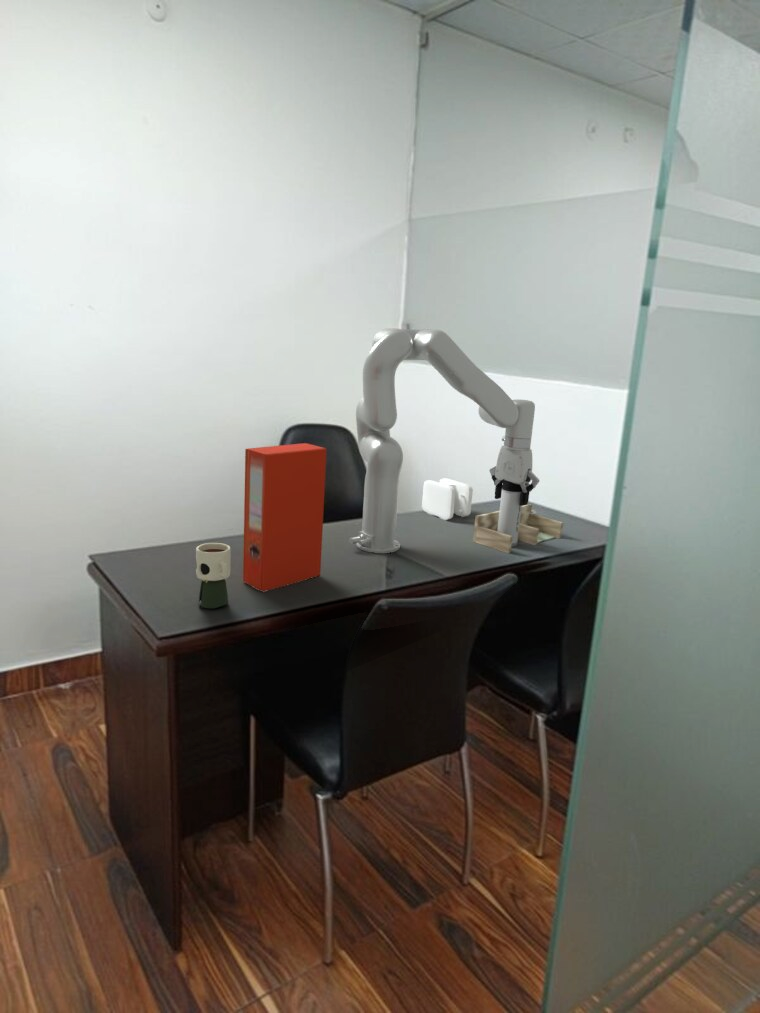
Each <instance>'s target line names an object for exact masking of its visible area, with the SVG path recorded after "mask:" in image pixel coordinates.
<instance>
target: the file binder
mask: <svg viewBox="0 0 760 1013" xmlns="http://www.w3.org/2000/svg"><path fill="white" fill-rule="evenodd" d="M244 452H245V453H244V454H245V455H244V459H245V461H244V462H245V463H244V503H243V504H244V507H243V508H244V509H243V511H244V513H243V556H242V557H243V558H242V559H243V563H242V564H243V566H242V567H243V568H242V571H243V572H242V582H243V581H244V582H246V583H248V584H250V585H251V586H254V587H255V588H257V589H259V590H262V591H265V590H270V589H273V588H277V587H280V588H282V587H281V586H284V585H287V584H291V583H294V584H296V583H295V582H298V581H301V580H305V579H308V578H311V577H315V576H318V575H320V576H321V572H322V571H321V567H322V551H323V550H322V546H323V527H324V509H325V508H324V506H325V490H326V489H325V487H326V468H327V467H326V466H327V448H326V447H322V446H318V445H315V444H310V443H307V442H304V443H294V444H293V443H292V444H283V445H282V444H281V445H280V444H279V445H270V446H261V447H251V448H245V451H244ZM305 581H306V580H305ZM244 582H243V583H244ZM298 583H299V582H298ZM291 585H292V584H291ZM251 586H250V587H251ZM287 586H288V585H287ZM284 587H285V586H284ZM255 588H254V589H255ZM257 589H256V590H257ZM277 589H278V588H277ZM259 590H258V591H259ZM273 590H274V589H273ZM270 591H271V590H270Z"/></svg>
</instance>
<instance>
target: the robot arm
mask: <svg viewBox="0 0 760 1013" xmlns="http://www.w3.org/2000/svg"><path fill="white" fill-rule="evenodd" d="M371 344H372V348H371V349H370V350H369V352H368V354H367V356H366V358H365V360H364V363H363V367H362V395H363V396H362V397H361V398H360V399H359V400H358V402H357V405H356V408H355V409H356V410H355V423H356V431H357V432H356V434H357V435H356V436H357V442H358V443H357V444H358V450H359V454H360V455H361V457H362V459H363V460H364V461H365V462H366V463H367V466H366V467H367V468H366V473H365V477H364V486H363V505H362V506H363V507H362V523H361V524H362V525H361V530H360V531H358V535H357V536H353V537H349V538H348V543H349V545H355V546H356V548H357V549H359V550H361V551H364V552H368V553H372V552H374V553H375V554H391V553H395V552H397V551H398V550H400V547H401V543H400V542H399V541H398V540H396V530H397V529H396V528H397V517H398V504H399V503H398V501H399V500H398V498H399V485H400V478H401V472H402V467H403V463H404V462H403V461H404V454H403V450H402V449H403V448H402V447H401V445H400V444H399V442H398V441H397V440H396V439H395V438H393V437H391V433H390V432H391V429H392V428H393V427H394V426H395V424H396V423H397V419H398V418H397V417H398V412H397V411H398V410H397V402H396V401H397V400H396V388H395V387H396V386H395V384H396V383H395V381H396V372H397V370H398V367H399V365H400V364H401V363H402V362H403V361H426V362H428V363H429V364H430V365H431V366H432V367H433V368H434V369H435V370H436V371H437V372H438V373H439V375H441V376H442V378H443V379H444V380H445V381H446V382H447V383H448V384H449V385H450V386H451V387H452V388H453V389H454V390H455V391H456V392H458V393H459V394H461V395H463V396H465V397H466V398H469V399H470V400H472V401H473V402H474V403H476V404H477V405H478V415H479V417H480V419H481V420H482V421H483V422H484V423H487V424H489V425H492V426H496V427H497V428H501V429H505V432H504V436H502V437H501V441H502V442H503V445H501V447H500V449H499V453H498V455H497V460H496V465H495V466H493V467H492V468H490V469H489V473H490V476H491V479H492V481H493V485H494V486H495V487H494V499H495V500H499V499H500V500H501V493H502V486H503V481H502V480H503V479H505V480H507V481H510V482H512V483H514V484H520V486H521V488H522V490H523V492H521V495H520V503H519V505H521V506H523V505H527V504H529V500H530V492H532V491H533V490H534V489H535V488H536V487H537V485H538V484H539V483H540V479H539V478H538V476H536V474H535V473H533V450H532V448H531V445H532V437H533V436H532V435H533V428H534V420H535V411H536V404H535V403H534V401H532V400H528V399H527V400H526V399H512V398H511V397H510V396H509V395H508V393H507V392H506V391H505V390H504V389H503V388H502V387H500V386H499V384H498V383H496V382H495V381H494V380H493V379H492V378H491V377H489V376H488V375H487V374H486V373H485V372H484V371H482V369H480V368H479V367H478V366H477V365H476V364H475V363H474V362H473V361H472V360H471V359H470V358H469V357H468V356H467V354H466V353H465V352H464V351H463V350H462V349H461V348H460V346H459V345H458V344H457V343H456V342H455V341H454V340H453V338H451V337H450V336H449V335H448V334H447V333H446V332H445V331H442V330H440V329H425V328H424V329H405V328H384V329H380V330H378V332H376V334H375V335H374V336H373V339H372V343H371ZM530 482H531V483H530ZM390 552H391V553H390Z"/></svg>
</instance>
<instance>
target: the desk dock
mask: <svg viewBox="0 0 760 1013" xmlns="http://www.w3.org/2000/svg"><path fill="white" fill-rule="evenodd" d="M532 507H533V504H531V503H528V504H527V505H523V506H522V508H521V516H520V524H519V533H518V541H519V540H520V542H522V543H525V544H526V543H527V544H530V545H532V546H537V545H538V543H542V541H543V542H545V541H549V540H552V539H556V538H557V539H561V538H562V534H563V528H564V522H563V521H559V520H556V519H552V518H549V517H546V516H543V515H542V516H541V515H538V514H534V513H532V511H533V510H532ZM499 511H500V510H496V511H492V512H487V513H481V514H477V515H475V517H474V518H475V519H474V525H473V526H474V527H473V535H472V536H473V537H472V542H474V543H475V544H479V545H481V546H486V547H488V548H490V549H494V550H497V551H500V552H503V553H506V554H511V551H512V547H511V544H512V536H510V535H507V534H504V533H501V532H497V529H498V520H499Z"/></svg>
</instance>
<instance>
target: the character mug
mask: <svg viewBox="0 0 760 1013" xmlns="http://www.w3.org/2000/svg"><path fill="white" fill-rule="evenodd" d="M231 552H232V550H231V546H230V545H229V544H226V543H221V542H206V543H201V544H200V545H198V546H196V548H195V560H196V570H195V573H196V578H198V579H200V580H201V581H200V588H199V591H198V592H199V593H198V605H200V607H201V608H205V609H217V608H220V607H223V606H225V605H227V604H229V596H228V595H229V594H228V588H227V581H226V579H227V578H229V577H230V575H231V565H232V564H231V562H232V561H231V560H232V558H231V555H232V554H231ZM200 601H201V603H200Z"/></svg>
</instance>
